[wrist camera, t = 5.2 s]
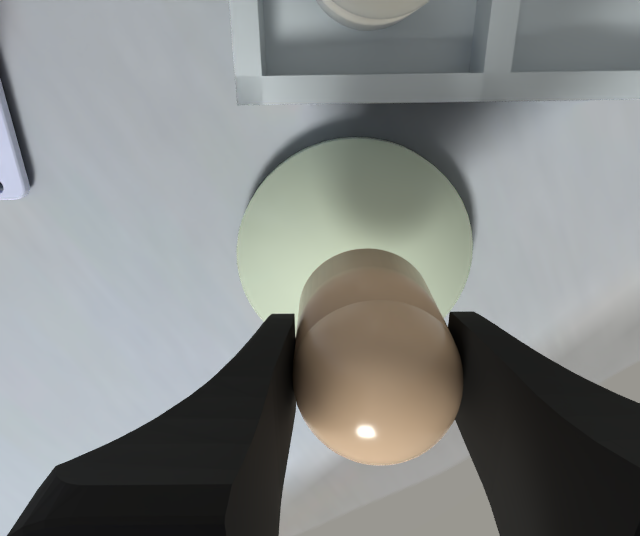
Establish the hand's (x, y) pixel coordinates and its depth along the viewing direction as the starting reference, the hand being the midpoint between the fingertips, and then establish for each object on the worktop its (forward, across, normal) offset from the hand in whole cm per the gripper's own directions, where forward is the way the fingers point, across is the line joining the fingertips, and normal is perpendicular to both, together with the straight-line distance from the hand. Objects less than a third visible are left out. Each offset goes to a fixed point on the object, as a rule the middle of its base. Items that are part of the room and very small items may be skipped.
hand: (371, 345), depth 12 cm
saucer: (+7, 0, 0) cm, 7 cm away
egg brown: (+2, 0, 0) cm, 2 cm away
